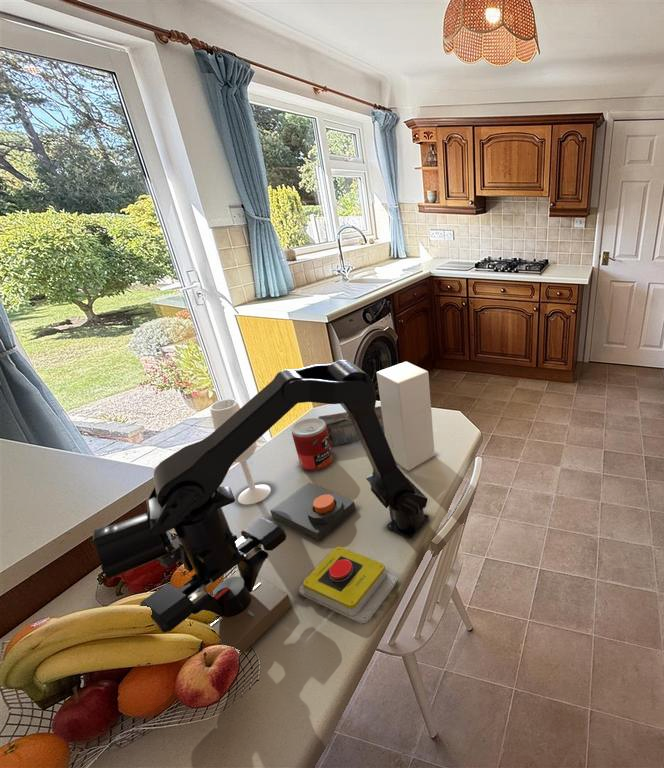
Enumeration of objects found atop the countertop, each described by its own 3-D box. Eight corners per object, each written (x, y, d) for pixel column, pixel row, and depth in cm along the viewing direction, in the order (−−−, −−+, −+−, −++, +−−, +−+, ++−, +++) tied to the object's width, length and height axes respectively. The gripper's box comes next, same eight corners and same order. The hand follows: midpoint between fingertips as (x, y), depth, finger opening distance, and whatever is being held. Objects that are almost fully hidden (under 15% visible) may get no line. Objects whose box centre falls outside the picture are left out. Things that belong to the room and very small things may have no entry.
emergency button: (331, 537, 78) (396, 563, 73) (335, 553, 80) (399, 579, 75) (291, 576, 70) (361, 608, 65) (297, 593, 72) (365, 625, 67)
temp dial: (240, 587, 69) (233, 571, 67) (257, 598, 68) (250, 581, 66) (214, 610, 66) (205, 592, 64) (231, 621, 64) (223, 604, 62)
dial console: (292, 605, 70) (287, 593, 68) (235, 661, 62) (229, 648, 60) (246, 578, 74) (241, 566, 73) (187, 626, 66) (181, 614, 65)
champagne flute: (261, 504, 91) (230, 413, 80) (231, 504, 90) (195, 412, 80) (276, 484, 97) (249, 396, 86) (248, 484, 96) (217, 396, 86)
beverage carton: (321, 433, 116) (317, 413, 113) (390, 421, 122) (388, 402, 119) (320, 448, 109) (316, 428, 106) (393, 435, 116) (391, 416, 113)
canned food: (322, 473, 101) (313, 437, 96) (293, 468, 102) (283, 432, 97) (339, 455, 107) (332, 420, 102) (312, 450, 109) (304, 416, 104)
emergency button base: (357, 509, 90) (354, 496, 88) (320, 542, 82) (317, 527, 80) (310, 489, 95) (307, 476, 94) (272, 517, 87) (267, 503, 86)
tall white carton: (387, 457, 107) (375, 371, 96) (414, 442, 113) (406, 360, 102) (408, 471, 102) (398, 383, 91) (435, 455, 108) (428, 371, 97)
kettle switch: (339, 504, 87) (337, 497, 86) (324, 516, 83) (322, 510, 83) (325, 498, 88) (324, 491, 87) (310, 510, 85) (308, 503, 84)
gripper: (234, 479, 70) (257, 543, 77) (97, 560, 55) (142, 630, 62) (277, 501, 66) (297, 566, 73) (142, 594, 51) (184, 665, 58)
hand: (235, 602), depth 67 cm, fingers closed on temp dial, 4 cm apart
